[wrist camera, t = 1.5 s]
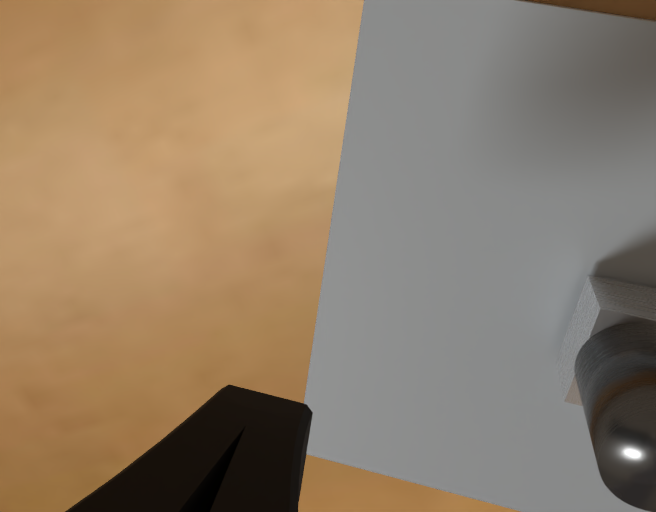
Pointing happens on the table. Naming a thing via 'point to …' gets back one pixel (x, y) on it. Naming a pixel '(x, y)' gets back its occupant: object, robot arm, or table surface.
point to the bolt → (615, 382)
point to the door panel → (480, 242)
